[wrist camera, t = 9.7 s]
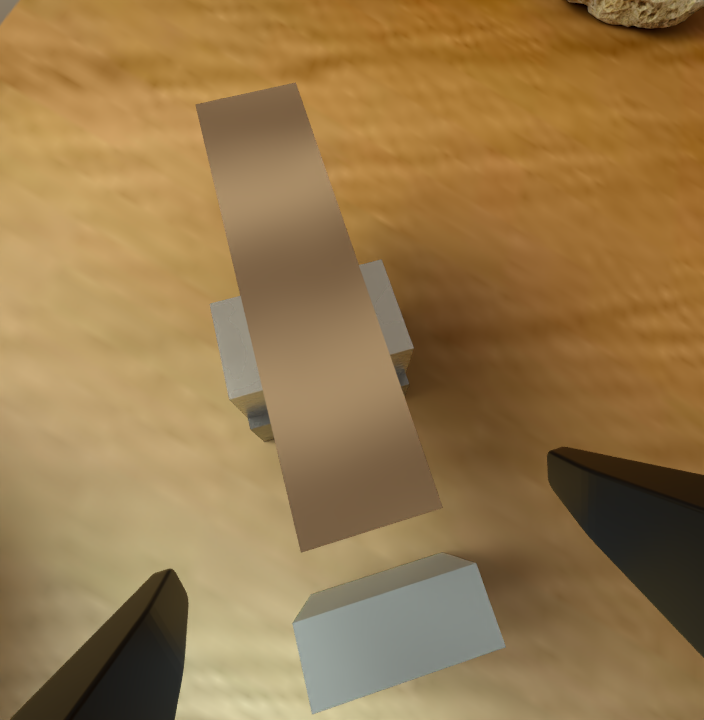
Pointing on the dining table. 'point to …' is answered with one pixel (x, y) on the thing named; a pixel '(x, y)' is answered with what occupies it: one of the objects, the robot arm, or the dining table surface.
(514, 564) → the dining table surface
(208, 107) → the batten
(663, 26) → the decorative item
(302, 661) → the light gray rectangular block
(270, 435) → the grey stepped block
